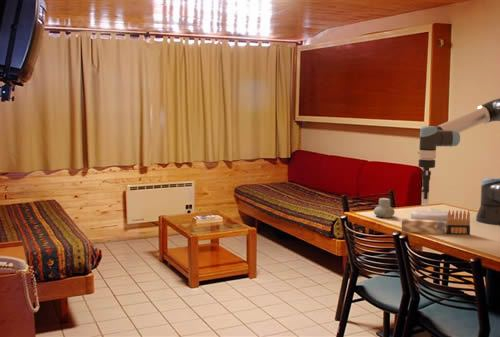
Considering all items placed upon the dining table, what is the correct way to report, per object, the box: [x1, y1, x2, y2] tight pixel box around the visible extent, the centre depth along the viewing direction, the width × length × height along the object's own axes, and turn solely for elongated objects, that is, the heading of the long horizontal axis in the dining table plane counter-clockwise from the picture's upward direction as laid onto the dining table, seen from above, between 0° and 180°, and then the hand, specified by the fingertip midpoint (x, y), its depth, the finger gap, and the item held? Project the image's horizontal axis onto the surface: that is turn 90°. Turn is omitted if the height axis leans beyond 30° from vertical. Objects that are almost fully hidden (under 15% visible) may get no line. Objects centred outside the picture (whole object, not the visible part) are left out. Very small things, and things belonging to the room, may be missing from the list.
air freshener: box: [373, 197, 395, 219], centre depth 297 cm, size 11×8×10 cm
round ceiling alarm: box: [410, 208, 452, 227], centre depth 284 cm, size 25×25×6 cm
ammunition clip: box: [446, 210, 471, 236], centre depth 258 cm, size 11×2×12 cm, turn 86°
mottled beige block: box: [401, 218, 447, 235], centre depth 263 cm, size 20×4×6 cm, turn 74°
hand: (424, 203), depth 261 cm, fingers open, 13 cm apart
